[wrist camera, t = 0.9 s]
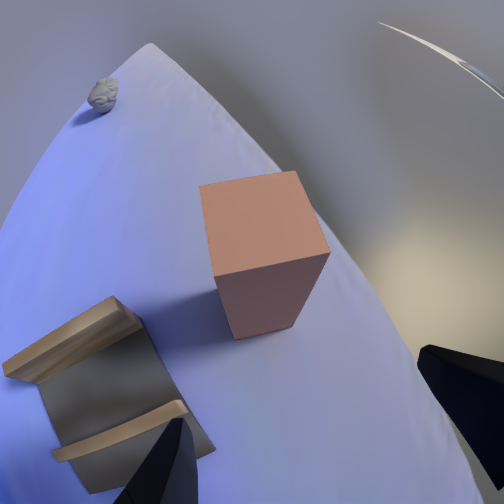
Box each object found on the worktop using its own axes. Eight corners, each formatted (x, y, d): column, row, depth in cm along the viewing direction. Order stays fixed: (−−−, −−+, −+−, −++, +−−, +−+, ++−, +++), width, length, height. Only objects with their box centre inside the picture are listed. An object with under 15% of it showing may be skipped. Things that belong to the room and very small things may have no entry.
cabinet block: (292, 326, 23) (330, 252, 11) (234, 339, 22) (213, 276, 11) (275, 267, 25) (290, 160, 14) (221, 278, 25) (197, 175, 14)
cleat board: (216, 448, 17) (203, 466, 12) (94, 492, 14) (59, 506, 8) (141, 318, 23) (112, 295, 18) (40, 375, 19) (1, 363, 14)
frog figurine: (130, 102, 43) (121, 72, 37) (102, 121, 40) (91, 91, 34) (113, 99, 44) (105, 72, 38) (88, 117, 41) (77, 90, 35)
